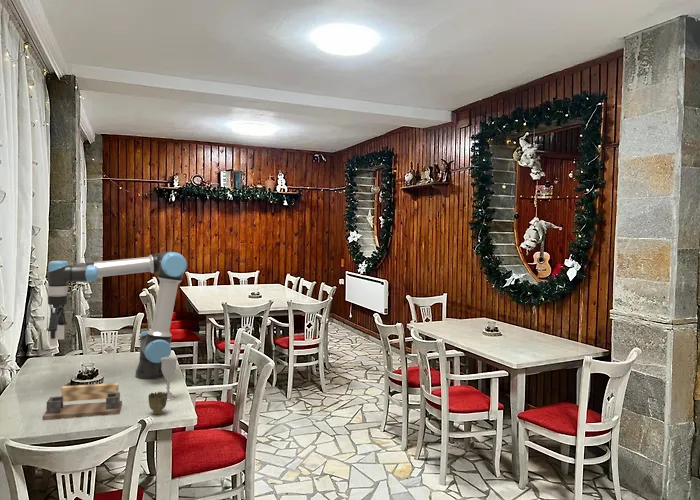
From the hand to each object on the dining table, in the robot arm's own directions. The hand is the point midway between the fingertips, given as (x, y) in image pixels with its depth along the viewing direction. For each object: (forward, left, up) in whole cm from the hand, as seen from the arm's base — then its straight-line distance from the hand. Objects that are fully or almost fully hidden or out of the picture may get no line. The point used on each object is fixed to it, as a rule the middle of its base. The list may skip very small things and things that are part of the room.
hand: (57, 342), depth 223 cm
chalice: (-47, +20, -23) cm, 56 cm away
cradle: (-15, +29, -23) cm, 40 cm away
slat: (-15, +12, -23) cm, 30 cm away
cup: (-43, +38, -23) cm, 62 cm away
